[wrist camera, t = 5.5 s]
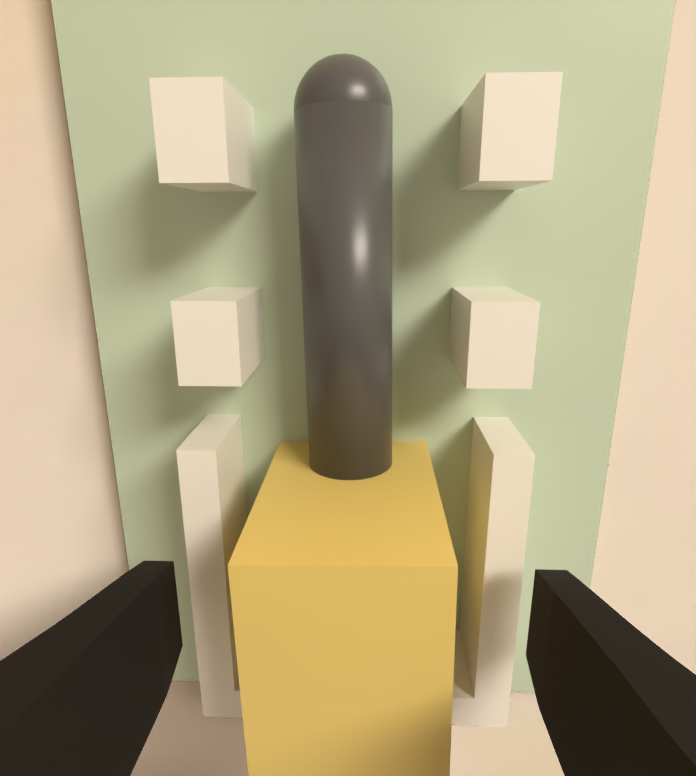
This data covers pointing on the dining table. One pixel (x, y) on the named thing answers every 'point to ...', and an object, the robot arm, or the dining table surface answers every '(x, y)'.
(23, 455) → the dining table surface
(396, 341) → the board
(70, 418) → the dining table surface
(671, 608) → the dining table surface
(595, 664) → the robot arm
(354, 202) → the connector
